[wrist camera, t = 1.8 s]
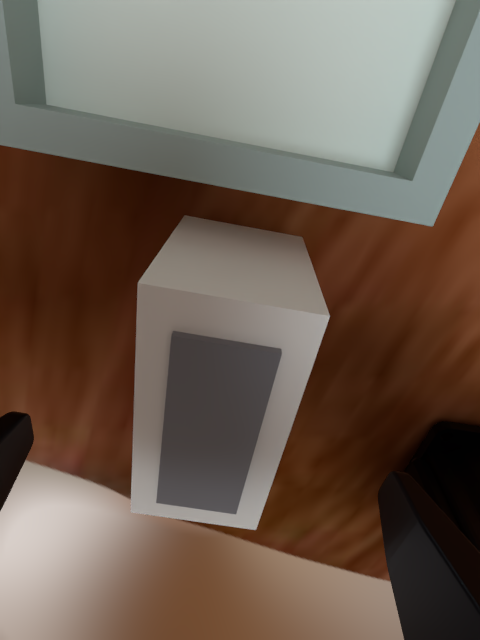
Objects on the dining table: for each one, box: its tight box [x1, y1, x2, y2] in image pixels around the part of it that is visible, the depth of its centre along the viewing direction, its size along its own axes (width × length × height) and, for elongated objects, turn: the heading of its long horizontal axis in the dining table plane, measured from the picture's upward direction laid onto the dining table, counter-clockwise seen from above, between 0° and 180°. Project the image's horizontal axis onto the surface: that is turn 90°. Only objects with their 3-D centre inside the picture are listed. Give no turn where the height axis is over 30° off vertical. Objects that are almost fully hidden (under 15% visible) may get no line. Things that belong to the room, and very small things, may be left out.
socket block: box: [131, 215, 330, 530], centre depth 12 cm, size 4×8×6 cm, turn 170°
